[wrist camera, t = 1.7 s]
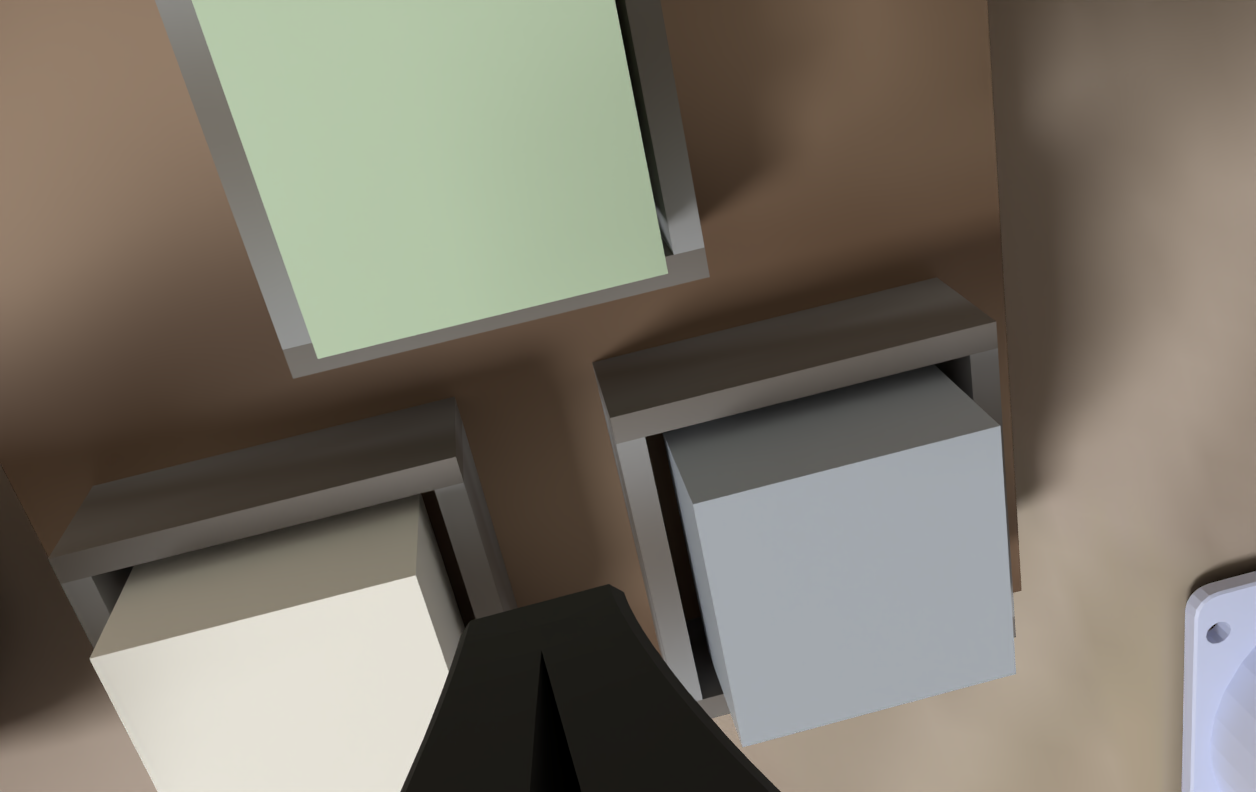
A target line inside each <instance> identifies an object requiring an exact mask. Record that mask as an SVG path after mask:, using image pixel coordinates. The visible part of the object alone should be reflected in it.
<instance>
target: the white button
mask: <svg viewBox="0 0 1256 792" xmlns="http://www.w3.org/2000/svg"><path fill="white" fill-rule="evenodd" d="M464 629H465V627H464V624H463V621H462V618H461V615H460V611H459V608H458V605H457V602H456V599H455V596H454V593H453V590H452V587H451V584H450V581H449V578H448V575H447V572H446V569H445V566H444V562H443V559H442V556H441V553H440V550H439V547H438V544H437V541H436V538H435V535H434V532H433V529H432V526H431V523H430V520H429V517H428V513H427V510H426V507H425V504H424V501H423V498H422V495H421V493H420V494H416V495H413V496H409V497H405V498H401V499H397V500H393V501H389V502H385V503H381V504H377V505H373V506H369V507H365V508H361V509H357V510H353V511H349V512H345V513H341V514H337V515H333V516H329V517H325V518H321V519H317V520H313V521H309V522H305V523H301V524H297V525H293V526H289V527H285V528H281V529H277V530H274V531H270V532H266V533H262V534H258V535H254V536H250V537H246V538H242V539H238V540H234V541H230V542H226V543H222V544H218V545H214V546H210V547H206V548H202V549H198V550H194V551H190V552H186V553H182V554H178V555H174V556H170V557H166V558H162V559H158V560H154V561H150V562H146V563H142V564H138V565H135V566H134V567H133V569H132V571H131V573H130V575H129V577H128V579H127V581H126V583H125V586H124V588H123V590H122V592H121V594H120V596H119V598H118V600H117V602H116V604H115V606H114V609H113V611H112V613H111V615H110V617H109V619H108V621H107V623H106V625H105V627H104V629H103V631H102V634H101V636H100V638H99V640H98V642H97V644H96V646H95V648H94V650H93V652H92V654H91V657H90V661H91V663H92V665H93V667H94V669H95V671H96V673H97V675H98V677H99V678H100V680H101V682H102V684H103V686H104V688H105V690H106V692H107V694H108V696H109V698H110V700H111V702H112V704H113V706H114V708H115V710H116V711H117V713H118V715H119V717H120V719H121V721H122V723H123V725H124V727H125V729H126V731H127V733H128V735H129V737H130V739H131V741H132V743H133V745H134V746H135V748H136V750H137V752H138V754H139V756H140V758H141V760H142V762H143V764H144V766H145V768H146V770H147V772H148V774H149V776H150V778H151V780H152V781H153V783H154V785H155V787H156V789H157V791H158V792H400V791H401V789H402V787H403V784H404V782H405V780H406V777H407V775H408V773H409V771H410V768H411V766H412V764H413V761H414V759H415V757H416V755H417V752H418V750H419V748H420V745H421V743H422V741H423V738H424V736H425V733H426V731H427V728H428V726H429V723H430V721H431V718H432V715H433V713H434V710H435V708H436V705H437V703H438V700H439V697H440V695H441V692H442V689H443V687H444V684H445V681H446V678H447V675H448V673H449V670H450V667H451V664H452V661H453V658H454V655H455V652H456V649H457V646H458V642H459V639H460V636H461V634H462V632H463V631H464Z"/></svg>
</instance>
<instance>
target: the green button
mask: <svg viewBox="0 0 1256 792" xmlns="http://www.w3.org/2000/svg"><path fill="white" fill-rule="evenodd" d="M192 3H193V6H194V9H195V11H196V14H197V17H198V20H199V23H200V26H201V28H202V31H203V34H204V37H205V40H206V43H207V45H208V48H209V51H210V54H211V57H212V60H213V63H214V65H215V68H216V71H217V74H218V77H219V80H220V82H221V85H222V88H223V91H224V94H225V97H226V99H227V102H228V105H229V108H230V111H231V114H232V117H233V119H234V122H235V125H236V128H237V131H238V134H239V136H240V139H241V142H242V145H243V148H244V151H245V154H246V156H247V159H248V162H249V165H250V168H251V171H252V173H253V176H254V179H255V182H256V185H257V188H258V190H259V193H260V196H261V199H262V202H263V205H264V208H265V210H266V213H267V216H268V219H269V222H270V225H271V227H272V230H273V233H274V236H275V239H276V242H277V244H278V247H279V250H280V253H281V256H282V259H283V262H284V264H285V267H286V270H287V273H288V276H289V279H290V281H291V284H292V287H293V290H294V293H295V296H296V299H297V301H298V304H299V307H300V310H301V313H302V316H303V318H304V321H305V324H306V327H307V330H308V333H309V335H310V338H311V341H312V344H313V347H314V350H315V353H316V355H317V358H318V359H320V358H324V357H328V356H332V355H336V354H340V353H345V352H349V351H353V350H357V349H361V348H365V347H369V346H373V345H377V344H381V343H386V342H390V341H394V340H398V339H402V338H406V337H410V336H414V335H418V334H422V333H427V332H431V331H435V330H439V329H443V328H447V327H451V326H455V325H459V324H463V323H468V322H472V321H476V320H480V319H484V318H488V317H492V316H496V315H500V314H504V313H509V312H513V311H517V310H521V309H525V308H529V307H533V306H537V305H541V304H545V303H550V302H554V301H558V300H562V299H566V298H570V297H574V296H578V295H582V294H586V293H591V292H595V291H599V290H603V289H607V288H611V287H615V286H619V285H623V284H627V283H632V282H636V281H640V280H644V279H648V278H652V277H656V276H660V275H664V274H668V270H667V265H666V259H665V254H664V249H663V244H662V239H661V234H660V229H659V224H658V219H657V213H656V208H655V203H654V198H653V193H652V188H651V183H650V178H649V172H648V167H647V162H646V157H645V152H644V147H643V142H642V137H641V132H640V126H639V121H638V116H637V111H636V106H635V101H634V96H633V91H632V85H631V80H630V75H629V70H628V65H627V60H626V55H625V50H624V45H623V39H622V34H621V29H620V24H619V19H618V14H617V9H616V4H615V0H192Z"/></svg>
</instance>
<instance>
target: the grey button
mask: <svg viewBox="0 0 1256 792" xmlns="http://www.w3.org/2000/svg"><path fill="white" fill-rule="evenodd" d="M662 434H663V439H664V443H665V448H666V453H667V458H668V462H669V467H670V472H671V476H672V481H673V486H674V491H675V495H676V500H677V505H678V510H679V514H680V519H681V524H682V528H683V533H684V538H685V543H686V547H687V552H688V557H689V561H690V566H691V571H692V576H693V580H694V585H695V590H696V595H697V599H698V604H699V609H700V613H701V618H702V623H703V628H704V632H705V637H706V642H707V646H708V651H709V654H710V657H711V660H712V662H713V665H714V668H715V671H716V674H717V677H718V679H719V682H720V685H721V688H722V691H723V693H724V696H725V699H726V702H727V705H728V708H729V710H730V713H731V716H732V719H733V722H734V724H735V727H736V730H737V733H738V736H739V739H740V741H741V744H742V747H745V746H749V745H753V744H757V743H760V742H764V741H768V740H772V739H775V738H779V737H783V736H786V735H790V734H794V733H798V732H801V731H805V730H809V729H812V728H816V727H820V726H824V725H827V724H831V723H835V722H838V721H842V720H846V719H850V718H853V717H857V716H861V715H865V714H868V713H872V712H876V711H879V710H883V709H887V708H891V707H894V706H898V705H902V704H905V703H909V702H913V701H917V700H920V699H924V698H928V697H932V696H935V695H939V694H943V693H946V692H950V691H954V690H958V689H961V688H965V687H969V686H972V685H976V684H980V683H984V682H987V681H991V680H995V679H998V678H1002V677H1006V676H1010V675H1013V674H1016V666H1015V650H1014V634H1013V618H1012V602H1011V586H1010V571H1009V555H1008V539H1007V523H1006V507H1005V491H1004V475H1003V459H1002V443H1001V428H1000V425H999V424H998V423H997V422H996V421H995V420H994V419H993V418H991V417H990V416H989V415H988V414H987V413H986V412H985V411H984V410H983V409H982V408H981V407H980V406H978V405H977V404H976V403H975V402H974V401H973V400H972V399H971V398H970V397H969V396H968V395H967V394H966V393H964V392H963V391H962V390H961V389H960V388H959V387H958V386H957V385H956V384H955V383H954V382H953V381H951V380H950V379H949V378H948V377H947V376H946V375H945V374H944V373H943V372H942V371H941V370H940V369H939V368H937V367H936V366H935V365H934V364H933V365H929V366H925V367H921V368H917V369H913V370H909V371H905V372H901V373H897V374H893V375H889V376H885V377H881V378H877V379H873V380H869V381H865V382H861V383H857V384H853V385H849V386H845V387H841V388H837V389H834V390H830V391H826V392H822V393H818V394H814V395H810V396H806V397H802V398H798V399H794V400H790V401H786V402H782V403H778V404H774V405H770V406H766V407H762V408H758V409H754V410H750V411H746V412H742V413H738V414H734V415H730V416H726V417H722V418H718V419H714V420H710V421H706V422H702V423H698V424H694V425H691V426H687V427H683V428H679V429H675V430H671V431H667V432H663V433H662Z"/></svg>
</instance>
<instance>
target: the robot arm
mask: <svg viewBox="0 0 1256 792" xmlns="http://www.w3.org/2000/svg"><path fill="white" fill-rule="evenodd" d="M1216 623H1217V624H1216ZM1214 624H1216V625H1215V626H1214V627H1213V628H1212V629H1211V630H1209V629H1210V628H1211V627H1212V626H1213V625H1214ZM1208 630H1209V631H1208ZM400 792H780V791H779V790H778V789H777V788H776V787H775V786H774V785H773V784H772V783H771V782H770V781H769V780H768V779H767V778H766V777H765V776H764V775H763V774H762V773H761V772H760V771H759V770H758V769H757V768H756V767H755V766H754V765H753V764H752V763H751V762H750V761H749V759H748V758H747V757H746V756H745V755H744V754H743V753H742V752H741V751H740V750H739V749H738V748H737V747H736V746H735V745H734V743H733V742H732V741H731V740H730V739H729V738H728V737H727V736H726V735H725V734H724V733H723V731H722V730H721V729H720V728H719V727H718V726H717V724H716V723H715V722H714V721H713V720H712V719H711V717H710V716H709V715H708V714H707V713H706V712H705V711H704V709H703V708H702V707H701V706H700V705H699V704H698V702H697V701H696V700H695V699H694V698H693V697H692V695H691V694H690V693H689V692H688V691H687V690H686V688H685V687H684V686H683V685H682V683H681V682H680V681H679V679H678V678H677V677H676V676H675V674H674V673H673V672H672V671H671V669H670V668H669V666H668V665H667V664H666V662H665V661H664V660H663V658H662V657H661V655H660V654H659V653H658V651H657V650H656V649H655V647H654V646H653V644H652V643H651V641H650V640H649V638H648V637H647V635H646V634H645V632H644V631H643V629H642V627H641V626H640V624H639V622H638V621H637V619H636V617H635V615H634V613H633V612H632V610H631V608H630V606H629V604H628V601H627V599H626V596H625V593H624V592H623V591H621V590H619V589H617V588H616V587H614V586H612V585H610V584H607V585H603V586H599V587H595V588H591V589H588V590H584V591H580V592H576V593H573V594H569V595H565V596H561V597H558V598H554V599H550V600H546V601H542V602H539V603H535V604H531V605H527V606H524V607H520V608H516V609H512V610H509V611H505V612H501V613H497V614H493V615H490V616H486V617H482V618H478V619H475V620H471V621H470V622H469V623H468V625H467V626H466V628H465V629H464V631H463V632H462V634H461V636H460V639H459V642H458V646H457V649H456V652H455V655H454V658H453V661H452V664H451V667H450V670H449V673H448V675H447V678H446V681H445V684H444V687H443V689H442V692H441V695H440V697H439V700H438V703H437V705H436V708H435V710H434V713H433V715H432V718H431V721H430V723H429V726H428V728H427V731H426V733H425V736H424V738H423V741H422V743H421V745H420V748H419V750H418V752H417V755H416V757H415V759H414V761H413V764H412V766H411V768H410V771H409V773H408V775H407V777H406V780H405V782H404V784H403V787H402V789H401V791H400ZM1182 792H1256V571H1254V572H1250V573H1246V574H1243V575H1239V576H1235V577H1231V578H1228V579H1224V580H1220V581H1216V582H1213V583H1209V584H1206V585H1204V586H1202V587H1200V588H1198V589H1197V590H1196V591H1195V592H1193V593H1192V595H1191V596H1190V598H1189V599H1188V601H1187V605H1186V609H1185V652H1184V703H1183V753H1182Z"/></svg>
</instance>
